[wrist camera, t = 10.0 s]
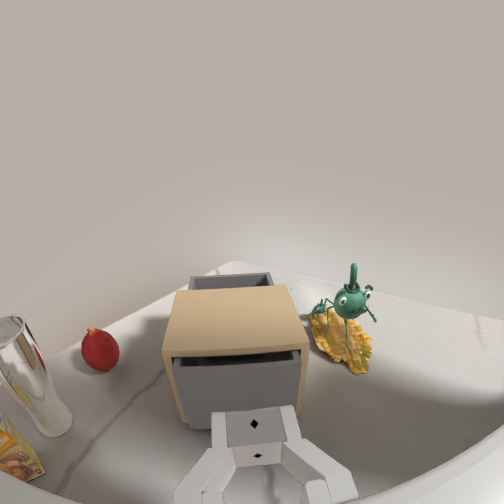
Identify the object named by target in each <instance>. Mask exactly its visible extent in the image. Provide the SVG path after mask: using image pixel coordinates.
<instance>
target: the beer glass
mask: <svg viewBox="0 0 504 504" xmlns="http://www.w3.org/2000/svg"><path fill="white" fill-rule="evenodd" d="M0 381H1V383H2V384H3V385H4V387H5V388H6V389H7V390H8V392H9V393H10V394H11V395H12V396H13V397H14V398H15V399H16V400H17V401H18V402H19V403H20V404H21V405H22V406H23V407H24V408H25V409H26V411H27V412H28V413H29V414H30V416H31V417H32V419H33V421H34V423H35V425H36V427H37V429H38V430H39V431H40V432H41V433H42V434H43V435H45V436H47V437H58V436H61V435H63V434H64V433H66V432H67V431H68V430H69V428H70V427H71V424H72V421H73V417H72V413H71V411H70V409H69V408H68V407H67V406H66V405H65V404H64V403H63V402H62V401H61V400H60V398H59V397H58V395H57V393H56V391H55V389H54V387H53V384H52V381H51V378H50V375H49V372H48V369H47V366H46V364H45V361H44V358H43V356H42V354H41V352H40V349H39V348H38V345H37V343H36V341H35V339H34V337H33V336H32V334H31V332H30V330H29V328H28V326H27V324H26V322H25V319H24V318H23V317H22V316H20V315H17V314H11V315H6V316H2V317H0Z"/></svg>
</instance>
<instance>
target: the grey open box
mask: <svg viewBox="0 0 504 504" xmlns="http://www.w3.org/2000/svg"><path fill="white" fill-rule="evenodd" d="M273 285H274V284H273V281H272V278H271V275H270V273H269V272H268V273H252V274H234V275H215V276H196V277H191V278H190V282H189V287H188V290H203V289H223V288H241V287H258V286H273ZM301 367H302V362H301V359H300V356H299V353H298V350H288V351H279V352H268V353H256V354H243V355H226V356H203V357H175V358H174V364H173V370H172V372H173V376H174V379H175V383H176V387H177V390H178V394H179V397H180V400H181V404H182V407H183V410H184V413H185V417H186V420H187V423H188V426H189V429H211V415H212V412H232V411H248V410H255V409H263V408H271V407H281V406H287V405H292V406H293V407H294V411H296V404H297V397H298V390H299V382H300V375H301Z"/></svg>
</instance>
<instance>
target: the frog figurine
mask: <svg viewBox="0 0 504 504" xmlns="http://www.w3.org/2000/svg"><path fill="white" fill-rule="evenodd" d="M356 279H357V265H356V264H355V263H353V264H352V265H351V274H350V283H349V284H348V285H347V284H345V285H344V288H342V289H341V290H340V291H339V292H338V293H337V294H336V297H335V299H334V303H332V302H331V301H330V300H328V299H327V298H326V300H327V301H329V302H330V303H332V304H333V305H334V306H331V307H328V308H327V305H326V306H325V303H326V300H325V303H324V305H323V304H322V302H323V299H321V304H319V303H318V305H316V306H315V307H314V309H313V310H312V312H311V313H310V315H309V319H311V322H312V324H313V326H312V327H311V330H312V334H313V337H314V340H315V342H316V344H317V346H318V348H319V349H320V350H322V351H324V352H326V353H327V354H328V355H330V356H331V359H333V358H334V361H336V362H338V363H339V361H341V360H342V359H343V361H344V362H346V363H347V364H348V366H349V369H350V371H351V372H353V373H354V374H355V375H358V373H365V374H366V372H367V371H368V368H369V367H368V361H369V358H370V357H371V355H372V353H371V350H372V348H371V347H370V346H371V342H370V341H371V340H372V338H371V336H369V335H367V334H365V333H364V332H363V331H362V329H361V326H360V325H359V324H358V322H356V321H355V320H353V319H355V318H357V317H358V316H360V315H361V314H363V313H365V312H366V311H368V312H369V314H370V315H371V316H372V318H373V320H374V322H377V320H376V318H375V317H374V315H373V314H371V312H370V311H369V309H368V308H367V306H366V305H365V304H366V300H368V299H369V298H370V297H371V292H370V290H371V291H372V290H373V287H372V286H371V285H367V286H366V287H365V289H368V288H369V289H370V290H366V291H365V292H364V293H363V292H362V291H361V290H360V287H359V285H358V283H356ZM324 306H325V307H324ZM332 307H334V308H335V311H336V312H333V310H332V309H330V308H332ZM325 308H327V310H325ZM364 308H366V309H367V310H366V309H364ZM329 309H330V310H329ZM324 312H325V313H324ZM323 313H324V316H322V315H319V314H323ZM348 319H350V320H348ZM351 319H352V320H351ZM366 370H367V371H366Z"/></svg>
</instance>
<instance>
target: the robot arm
mask: <svg viewBox="0 0 504 504" xmlns="http://www.w3.org/2000/svg"><path fill="white" fill-rule="evenodd" d="M278 463H281V465H282V466H283V467H284V468H285V469H286V470H287V471H288V472H289V473H290V474H291V475H292V476H293V477H294V478H296V479H297V480H298V481H299V482H300V483H301V484H302V485H303V486H304V487H305V488H304V491H303V494H302V497H301V499H300V502H299V504H504V424H503V425H502V426H501V427H499V428H498V429H497V430H495V431H494V432H493V433H491V434H490V435H488V436H487V437H486V438H484V439H483V440H481V441H480V442H478V443H477V444H475V445H474V446H472V447H470V448H469V449H467V450H466V451H464V452H462V453H461V454H459V455H457V456H456V457H454V458H452V459H451V460H449V461H447V462H445V463H443V464H442V465H440V466H438V467H436V468H434V469H432V470H430V471H428V472H426V473H424V474H422V475H420V476H418V477H415V478H413V479H411V480H409V481H407V482H404V483H402V484H400V485H397V486H395V487H392V488H390V489H387V490H384V491H382V492H379V493H376V494H374V495H371V496H368V497H365V498H362V499H360V498H359V495H358V492H357V489H356V486H355V484H354V481H353V478H352V475H351V472H350V471H349V470H348V469H347V468H345V467H344V466H342V465H341V464H340V463H338V462H337V461H335V460H334V459H333V458H331V457H330V456H329V455H327V454H326V453H324V452H323V451H322V450H321V449H319V448H318V447H317V446H315V445H314V444H313V443H311V442H310V441H309V440H308V439H306V438H304V439H302V437H301V433H300V429H299V426H298V422H297V418H296V414H295V411H294V407H293V406H292V405H287V406H281V407H271V408H263V409H255V410H248V411H232V412H212V415H211V448H207V450H206V451H205V452H204V454H203V455H202V456H201V457H200V459H199V460H198V461H197V462H196V464H195V465H194V466H193V467H192V469H191V470H190V471H189V472H188V474H187V475H186V476H185V477H184V478H183V480H182V481H181V482H180V483H179V484H178V486H177V487H176V488H175V489H174V502H173V504H226V502H225V500H224V498H223V495H222V492H223V490H224V489H225V487H226V486H227V484H228V482H229V481H230V479H231V477H232V476H233V474H234V472H235V471H236V468H239V467H249V466H258V464H259V465H269V464H278ZM0 504H82V503H79V502H76V501H73V500H69V499H66V498H63V497H61V496H58V495H55V494H52V493H50V492H47V491H44V490H42V489H39V488H37V487H35V486H32V485H30V484H28V483H25V482H23V481H21V480H19V479H17V478H15V477H13V476H11V475H9V474H7V473H5V472H3V471H1V470H0Z"/></svg>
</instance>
